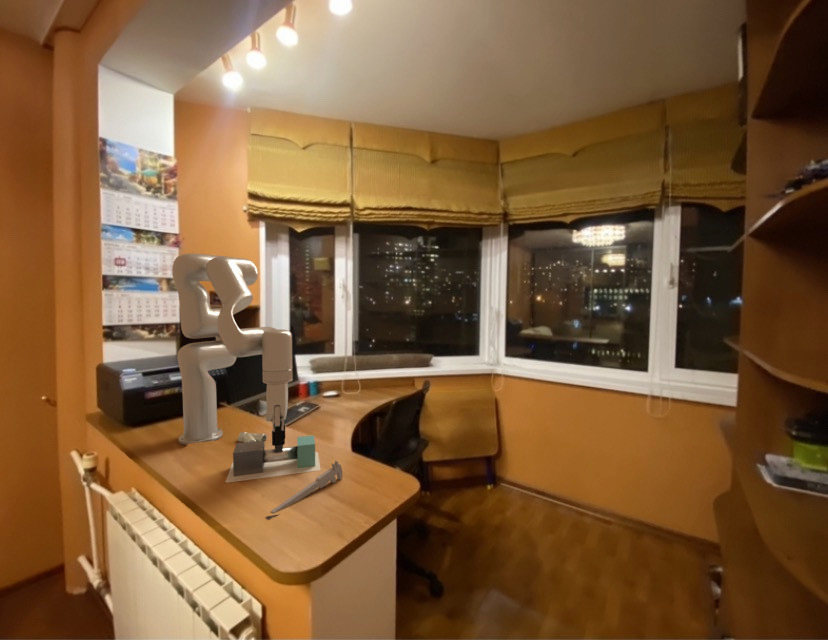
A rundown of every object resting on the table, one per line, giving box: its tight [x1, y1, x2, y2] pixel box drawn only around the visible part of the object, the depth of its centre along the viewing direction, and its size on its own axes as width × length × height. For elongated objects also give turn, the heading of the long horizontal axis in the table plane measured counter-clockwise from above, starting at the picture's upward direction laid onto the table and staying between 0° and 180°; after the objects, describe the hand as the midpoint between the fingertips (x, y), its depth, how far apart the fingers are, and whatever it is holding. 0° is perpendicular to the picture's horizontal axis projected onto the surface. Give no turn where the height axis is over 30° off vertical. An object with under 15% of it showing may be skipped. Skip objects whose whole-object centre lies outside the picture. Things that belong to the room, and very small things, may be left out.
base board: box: [225, 451, 321, 483], centre depth 101 cm, size 12×23×1 cm, turn 108°
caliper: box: [265, 460, 343, 521], centre depth 87 cm, size 20×1×6 cm, turn 142°
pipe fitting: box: [237, 431, 268, 443], centre depth 116 cm, size 8×4×7 cm
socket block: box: [296, 434, 316, 468], centre depth 104 cm, size 6×5×6 cm
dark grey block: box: [232, 440, 266, 476], centre depth 99 cm, size 6×7×6 cm
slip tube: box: [263, 445, 298, 463], centre depth 101 cm, size 3×14×9 cm, turn 108°
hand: (278, 441), depth 101 cm, fingers closed on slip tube, 3 cm apart
